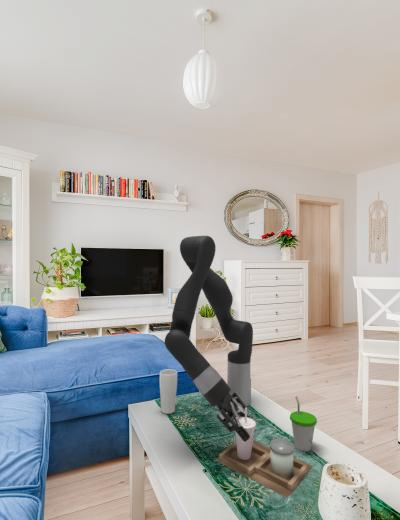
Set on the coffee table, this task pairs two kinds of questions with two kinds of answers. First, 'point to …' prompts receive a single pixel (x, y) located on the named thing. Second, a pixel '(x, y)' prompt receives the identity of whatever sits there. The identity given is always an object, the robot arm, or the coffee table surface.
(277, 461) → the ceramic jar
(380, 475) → the coffee table surface
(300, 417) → the cup
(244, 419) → the smoothie
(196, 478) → the coffee table surface
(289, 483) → the walnut tray
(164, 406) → the drinking glass
